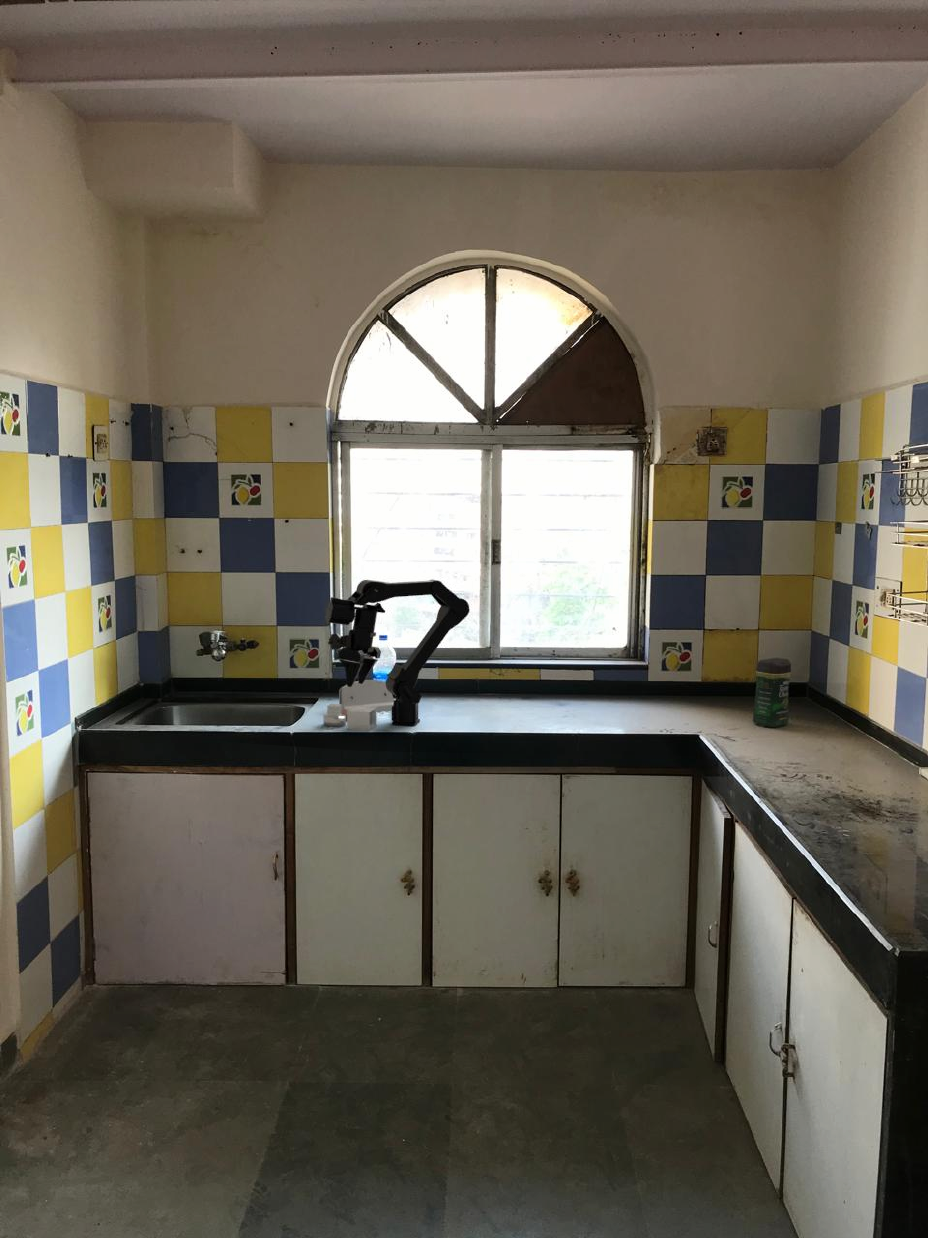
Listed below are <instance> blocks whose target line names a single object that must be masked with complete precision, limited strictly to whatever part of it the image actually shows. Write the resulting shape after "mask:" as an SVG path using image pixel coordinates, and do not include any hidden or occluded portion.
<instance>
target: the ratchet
mask: <svg viewBox="0 0 928 1238" xmlns="http://www.w3.org/2000/svg"><path fill="white" fill-rule="evenodd" d="M347 711H348V710H342V704H339V703H329V704H328V705H327V714H325V715H323V723H322V724H323V727H325V728H329V727H338V728H343V727H347Z"/></svg>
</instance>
